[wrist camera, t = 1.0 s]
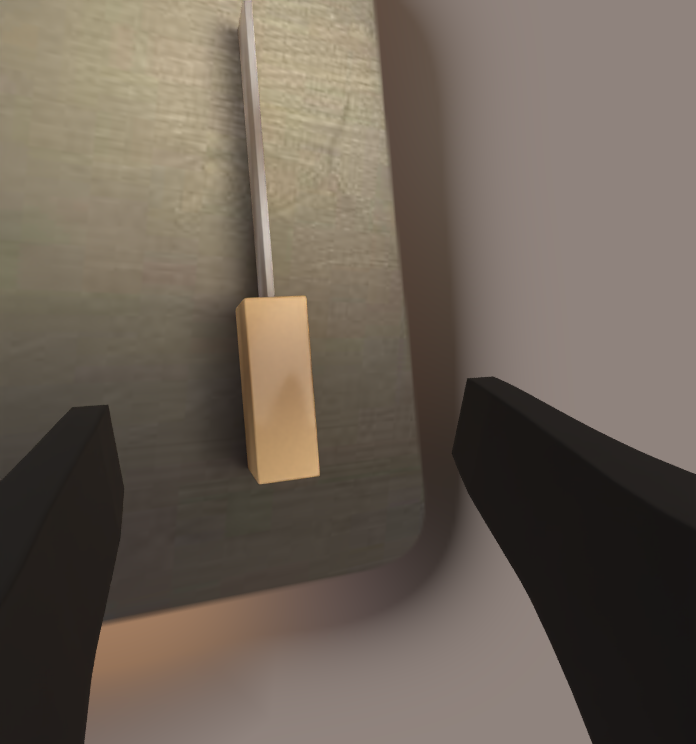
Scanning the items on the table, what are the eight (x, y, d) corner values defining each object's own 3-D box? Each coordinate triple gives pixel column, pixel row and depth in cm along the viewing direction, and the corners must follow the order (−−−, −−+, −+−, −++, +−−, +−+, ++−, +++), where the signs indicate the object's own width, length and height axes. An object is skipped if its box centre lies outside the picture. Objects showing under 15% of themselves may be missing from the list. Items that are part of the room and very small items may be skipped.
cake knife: (302, 462, 24) (320, 476, 21) (248, 469, 24) (258, 484, 20) (268, 32, 24) (282, -22, 21) (212, 26, 23) (217, -30, 20)
